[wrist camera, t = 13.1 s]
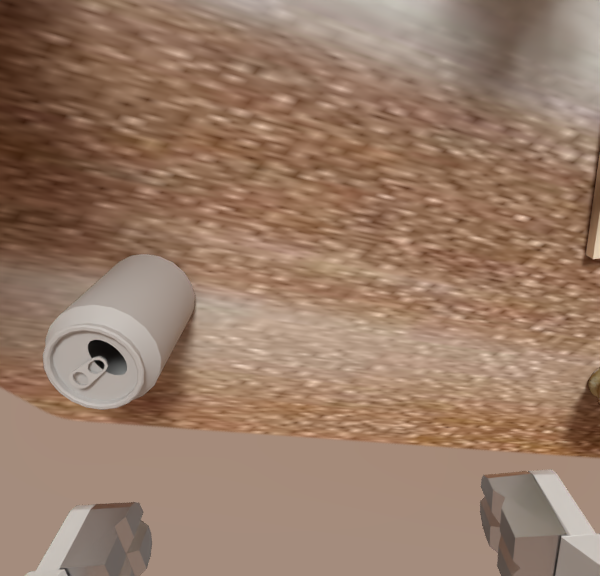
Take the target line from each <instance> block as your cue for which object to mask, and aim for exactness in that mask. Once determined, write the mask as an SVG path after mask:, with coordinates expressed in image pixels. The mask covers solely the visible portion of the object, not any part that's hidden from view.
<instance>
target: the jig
mask: <svg viewBox="0 0 600 576" xmlns="http://www.w3.org/2000/svg"><path fill="white" fill-rule="evenodd" d="M586 255H587V256H588V257H590V258H592V259H599V258H600V154H599V162H598V169H597V176H596V184H595V191H594V198H593V206H592V213H591V220H590V228H589V235H588V242H587V250H586Z"/></svg>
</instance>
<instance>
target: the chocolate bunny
mask: <svg viewBox="0 0 600 576" xmlns="http://www.w3.org/2000/svg"><path fill="white" fill-rule="evenodd" d="M588 386H589V389H590V391H591V393H592V394H593V395H594V396H596V397H598V398H599V400H598V404H600V367H599V368H598V369H597V370H596V371H594V373H593V374H592V375H591V377H590V378H589V380H588Z"/></svg>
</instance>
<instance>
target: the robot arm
mask: <svg viewBox="0 0 600 576" xmlns="http://www.w3.org/2000/svg"><path fill="white" fill-rule="evenodd" d="M481 488H482V490H483V493H484V495H485V497H484V498H483V499H482V500H481V502H480V513H481V520H482V526H483V529H484V532H485V536H486V538H487V541H488V543H489V546H490V547H491V548H492V549H493V550H495V551H496V552H497V553H498V562H497V566H498V569H499V571H500V574H501V576H600V534H596V533H595V531H594V530H593V528H592V527H591V525H590V524H589V522H588V521H587V519H586V518H585V516H584V515H583V513H582V511H581V510H580V509H579V507H578V505H577V504H576V502H575V501H574V499H573V498H572V496H571V495H570V493H569V492H568V490H567V489H566V487H565V486H564V484H563V483H562V481H561V480H560V478H559V476H558V475H557V473H556V472H554V471H553V470H552V469H549V470H537V471H528V472H527V471H522V472H511V473H500V474H488V475H483V477H482V482H481ZM142 515H143V510H142V508H141V506H140V504H139V503H136V502H133V503H132V502H131V503H111V504H95V505H78V506H75V507H74V508H73V509H72V510H71V511H70V512H69V514H68V515H67V517H66V519H65V521H64V522H63V524H62V526H61V528H60V529H59V531H58V533H57V534H56V536H55V538H54V540H53V541H52V543H51V545H50V547H49V549H48V550H47V552H46V554H45V555H44V557H43V559H42V560H41V562H40V564H39V566H38V567H37V569H36V571H30V572H28V573H27V574H26V575H25V576H140V575H141V574H142V573H143V572H144V571H145V570H146V569H147V566H148V562H149V559H150V556H151V547H152V538H151V532H150V529H149V526H148V525H147V524H146V523H144V522H143V521H141V517H142Z"/></svg>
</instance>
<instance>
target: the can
mask: <svg viewBox="0 0 600 576" xmlns="http://www.w3.org/2000/svg"><path fill="white" fill-rule="evenodd" d="M194 303H195V295H194V291H193V287H192V284H191V282H190V281H189V279H188V278H187V276H186V274H185V273H184V272H183V271H182V270H181V269H180V268H179V267H177V266H176V265H175V264H174V263H173V262H171V261H168V260H166V259H164V258H162V257H160V256H155V255H149V254H140V255H133V256H130V257H128V258H126V259H124V260H122V261H120V262H118V263H117V264H116V265H115V266H114V267H113V268H112V269H111V270H109V271H108V272H107V273H106V274H105V275H104V276H103V277H102V278H100V279H99V280H98V281H97V282H96V283H95V284H94V285H93V286H91V287H90V288H89V289H88V290H87V291H86V292H85V293H84V294H83V295H81V296H80V297H79V298H78V299H77V300H76V301H75V302H74V303H72V304H71V305H70V306H69V307H68V308H67V309H66V310H65V311H63V312H62V313H61V314H60V315H59V316H58V317H57V319H56V320H55V321H54V322H53V323H52V324H51V325H50V327H49V330H48V333H47V336H46V339H45V344H46V347H45V350H44V353H43V364H44V370H45V372H46V374H47V376H48V378H49V381H50V382H51V383H52V384H53V386H54V387H55V388H56V389H57V390H58V391H59V393H61V394H62V395H64V396H65V397H67V398H68V399H69V400H71V401H72V402H75V403H77V404H80V405H82V406H85V407H87V408H94V409H101V410H104V409H113V408H118V407H120V406H123V405H125V404H127V403H129V402H131V401H132V400H134V399H136V398H139V397H141V396H143V395H144V394H146V393H147V392H148V391H149V390H150V389H151V388H152V387H153V386H154V385H155V383H156V381H157V379H158V377H159V375H160V374H161V372H162V370H163V368H164V366H165V364H166V362H167V360H168V358H169V357H170V355H171V353H172V351H173V349H174V347H175V345H176V343H177V341H178V339H179V338H180V336H181V334H182V332H183V330H184V328H185V326H186V324H187V322H188V321H189V319H190V316H191V314H192V312H193V310H194Z"/></svg>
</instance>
